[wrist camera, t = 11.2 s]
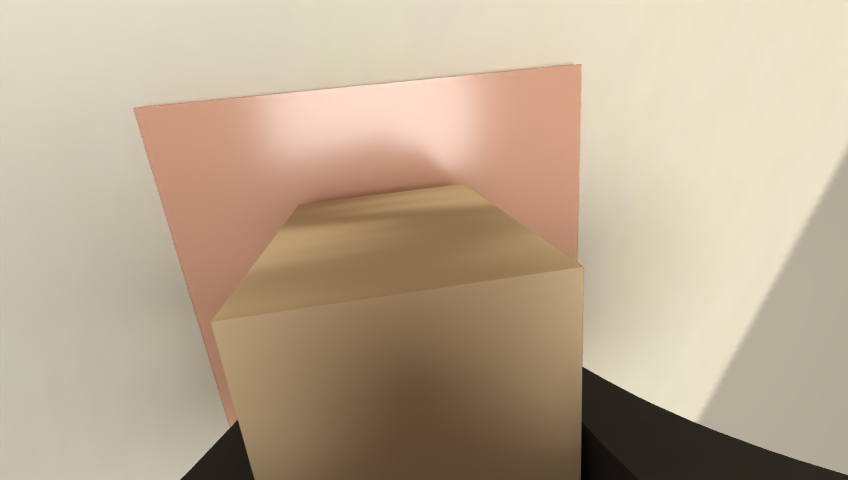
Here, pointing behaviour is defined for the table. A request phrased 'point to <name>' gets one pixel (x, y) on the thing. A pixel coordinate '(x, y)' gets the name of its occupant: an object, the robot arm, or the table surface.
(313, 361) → the oak block
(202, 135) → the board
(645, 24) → the table surface
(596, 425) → the robot arm
